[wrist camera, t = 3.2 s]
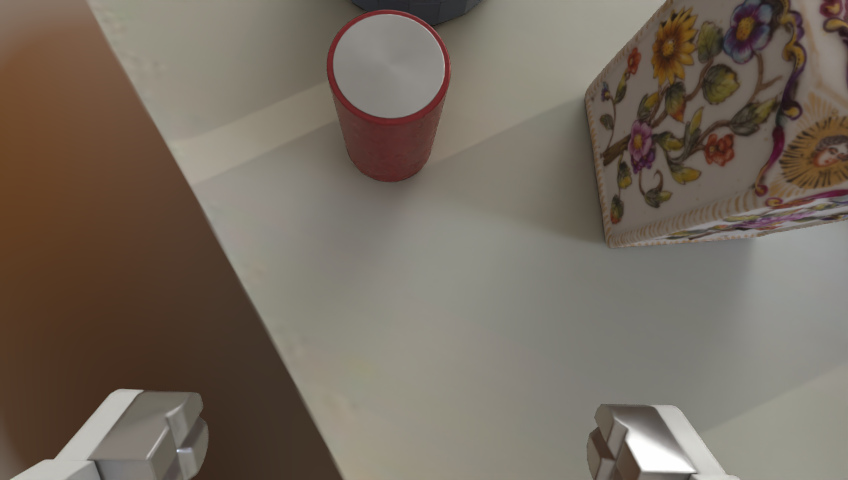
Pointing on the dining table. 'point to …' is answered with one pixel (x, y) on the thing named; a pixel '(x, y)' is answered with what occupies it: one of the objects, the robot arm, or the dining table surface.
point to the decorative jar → (723, 122)
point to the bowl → (422, 8)
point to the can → (388, 91)
